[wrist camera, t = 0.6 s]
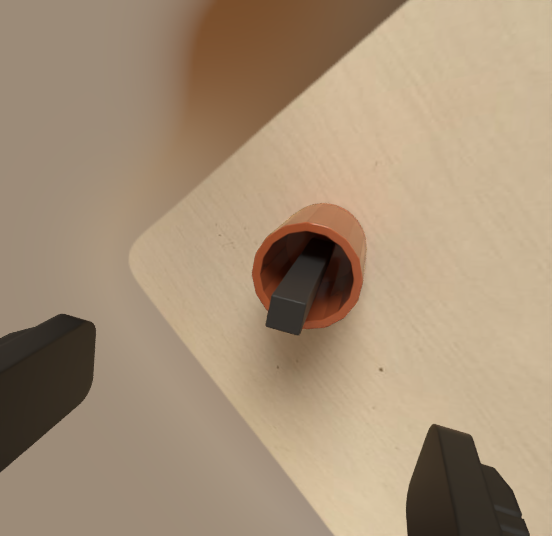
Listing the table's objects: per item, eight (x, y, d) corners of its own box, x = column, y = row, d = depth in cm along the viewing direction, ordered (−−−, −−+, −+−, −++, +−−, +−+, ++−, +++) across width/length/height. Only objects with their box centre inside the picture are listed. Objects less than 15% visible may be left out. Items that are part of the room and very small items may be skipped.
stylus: (313, 234, 31) (271, 294, 19) (335, 239, 31) (306, 303, 19) (309, 255, 31) (264, 327, 19) (330, 260, 31) (299, 336, 19)
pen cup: (290, 194, 31) (262, 211, 24) (376, 213, 30) (375, 238, 23) (274, 274, 33) (244, 312, 26) (354, 294, 32) (346, 341, 25)
